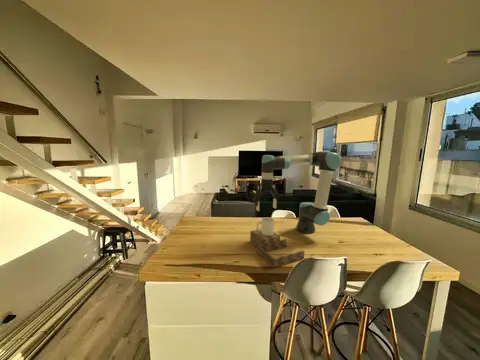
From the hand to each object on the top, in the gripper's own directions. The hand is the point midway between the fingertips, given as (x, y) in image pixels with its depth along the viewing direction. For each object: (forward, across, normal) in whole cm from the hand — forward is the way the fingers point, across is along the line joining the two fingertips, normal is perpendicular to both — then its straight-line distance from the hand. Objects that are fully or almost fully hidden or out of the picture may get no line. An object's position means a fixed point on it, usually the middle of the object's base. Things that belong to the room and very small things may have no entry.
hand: (266, 209), depth 147 cm
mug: (+18, +1, 0) cm, 18 cm away
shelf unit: (+26, 0, +9) cm, 27 cm away
